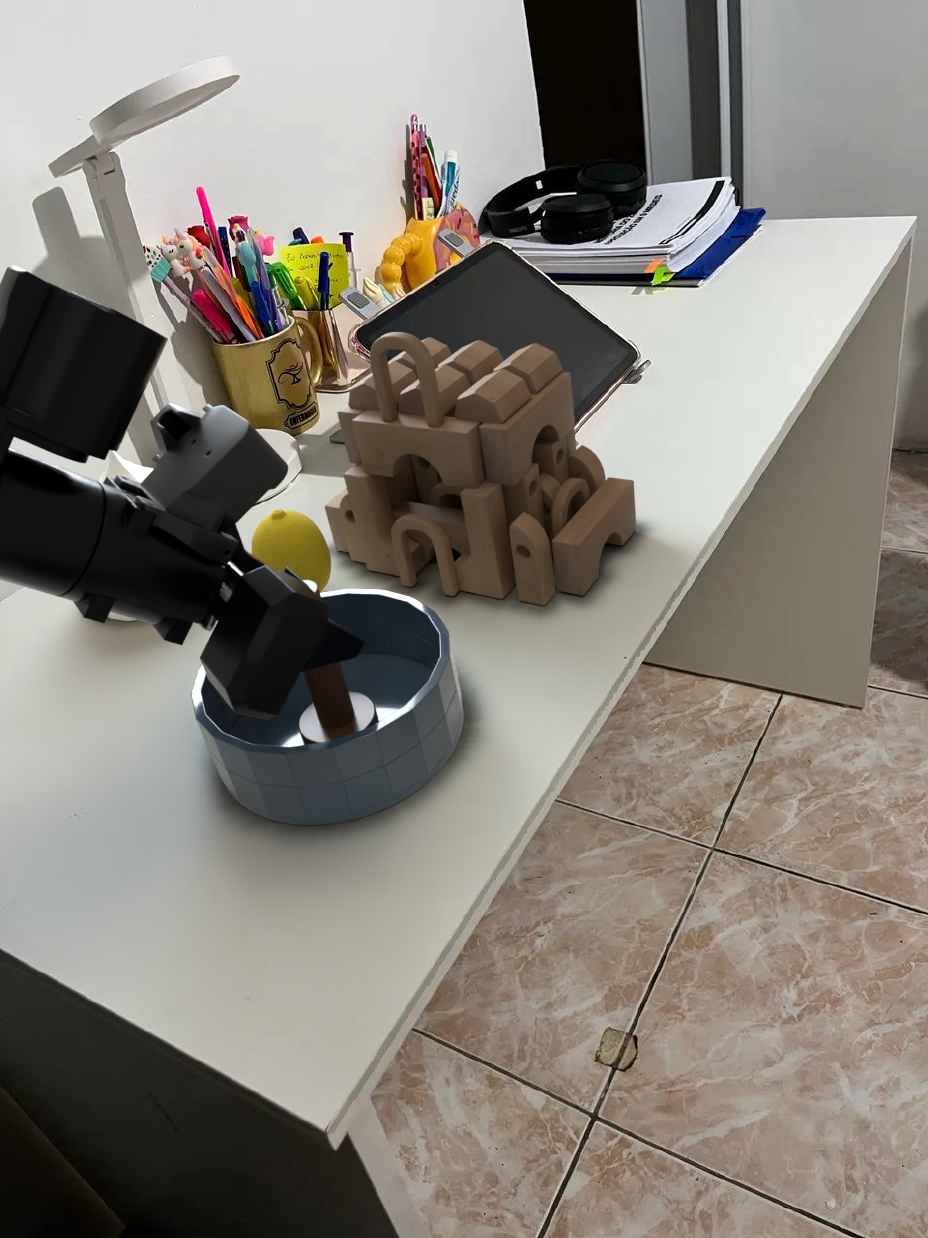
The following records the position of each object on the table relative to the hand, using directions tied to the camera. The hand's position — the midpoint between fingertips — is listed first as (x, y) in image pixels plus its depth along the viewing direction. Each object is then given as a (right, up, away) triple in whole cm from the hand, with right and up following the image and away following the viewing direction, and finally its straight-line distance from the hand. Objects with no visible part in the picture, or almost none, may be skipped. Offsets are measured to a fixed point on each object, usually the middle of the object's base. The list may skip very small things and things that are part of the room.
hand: (334, 625), depth 55 cm
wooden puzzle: (+9, +6, +20) cm, 23 cm away
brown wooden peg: (0, -6, +3) cm, 7 cm away
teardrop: (-17, +3, +23) cm, 28 cm away
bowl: (0, -7, +4) cm, 7 cm away
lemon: (-4, +1, +16) cm, 17 cm away
